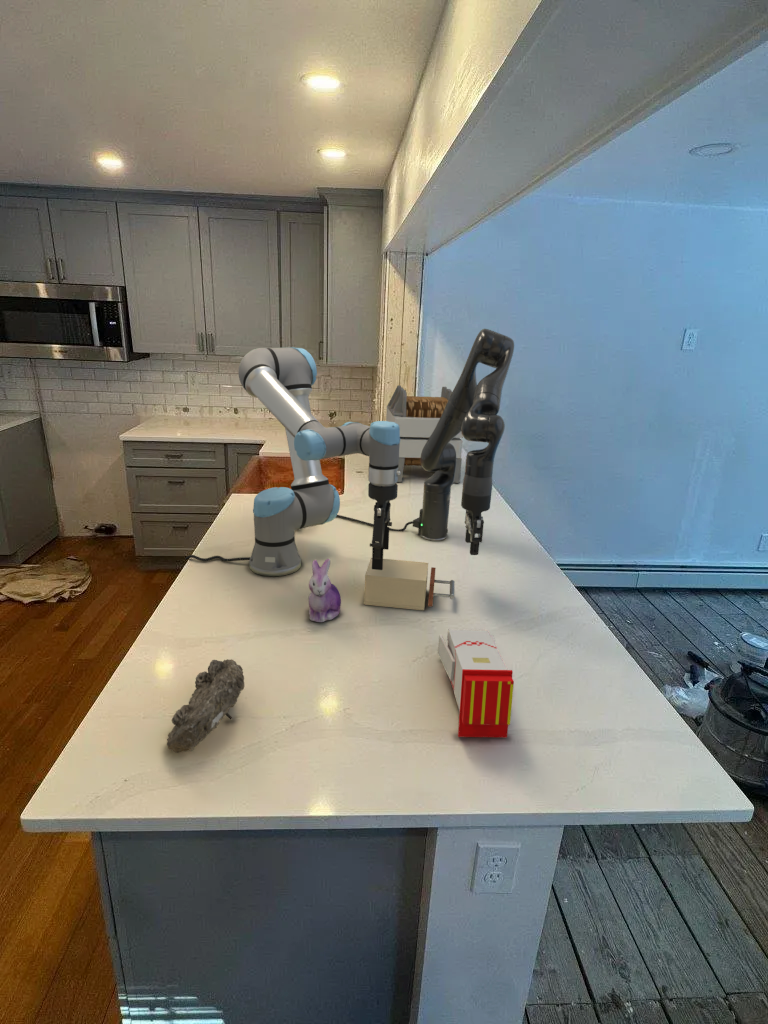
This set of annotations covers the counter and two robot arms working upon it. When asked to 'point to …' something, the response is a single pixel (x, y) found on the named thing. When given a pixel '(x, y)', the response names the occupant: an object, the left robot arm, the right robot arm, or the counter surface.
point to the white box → (419, 426)
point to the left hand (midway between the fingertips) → (380, 558)
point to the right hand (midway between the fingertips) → (471, 548)
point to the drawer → (431, 593)
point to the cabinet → (397, 584)
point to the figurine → (323, 594)
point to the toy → (478, 682)
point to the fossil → (206, 705)
